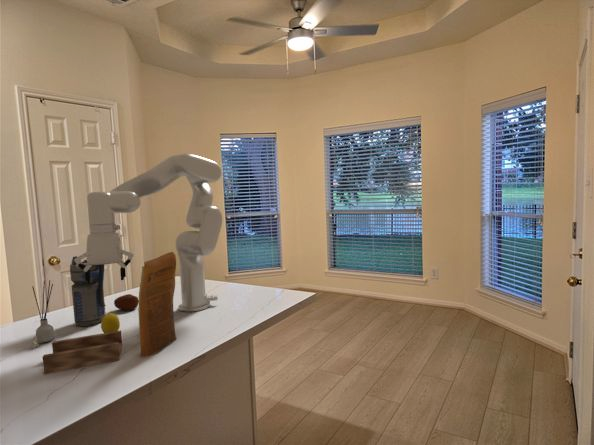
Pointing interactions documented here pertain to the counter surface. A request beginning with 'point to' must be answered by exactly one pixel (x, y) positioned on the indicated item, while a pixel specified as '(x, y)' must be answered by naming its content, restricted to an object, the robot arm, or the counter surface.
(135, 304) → the potato
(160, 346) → the pancake mix bag
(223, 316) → the counter surface
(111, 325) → the lemon
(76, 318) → the beverage bottle
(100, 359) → the u rest
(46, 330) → the reed diffuser
